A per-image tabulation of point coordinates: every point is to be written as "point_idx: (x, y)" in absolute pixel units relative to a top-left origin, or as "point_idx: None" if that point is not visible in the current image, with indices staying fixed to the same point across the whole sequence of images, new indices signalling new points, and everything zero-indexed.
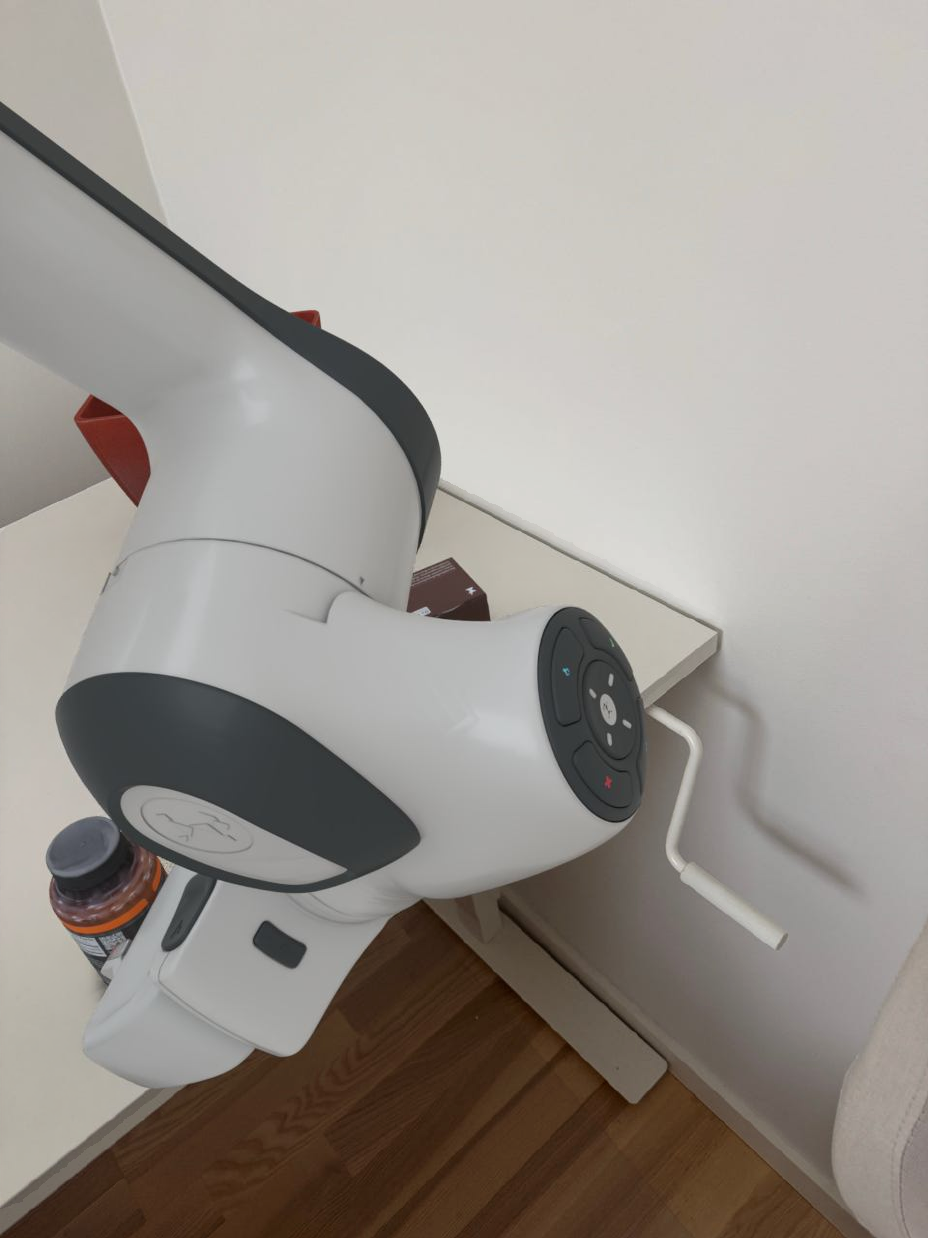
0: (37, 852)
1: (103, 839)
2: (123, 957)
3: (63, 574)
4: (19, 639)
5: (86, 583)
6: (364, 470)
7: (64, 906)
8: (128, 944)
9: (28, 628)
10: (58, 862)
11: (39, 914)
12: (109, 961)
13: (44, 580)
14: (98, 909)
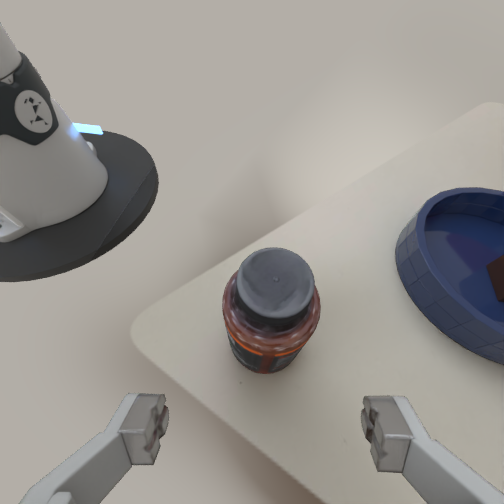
0: (310, 223)
1: (287, 298)
2: (113, 443)
3: (485, 134)
4: (430, 140)
5: (489, 147)
6: None
7: (230, 287)
8: (138, 434)
9: (439, 139)
10: (250, 267)
11: (274, 247)
12: (128, 407)
13: (473, 129)
14: (232, 321)
